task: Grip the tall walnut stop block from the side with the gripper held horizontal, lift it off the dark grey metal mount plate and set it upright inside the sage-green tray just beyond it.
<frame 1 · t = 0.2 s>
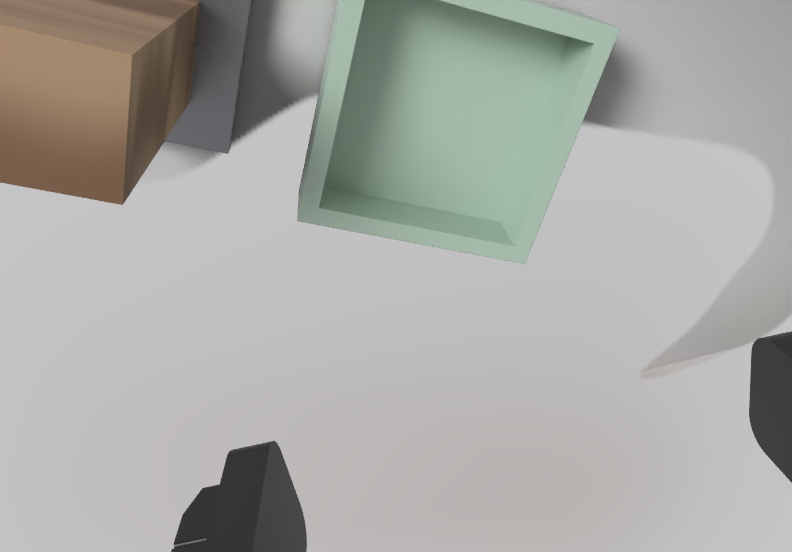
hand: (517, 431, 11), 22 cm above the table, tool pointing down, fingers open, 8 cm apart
stop block: (141, 41, 26), point 1 cm above the table, touching mount plate
mount plate: (147, 37, 27), on the table
tray: (437, 107, 30), on the table
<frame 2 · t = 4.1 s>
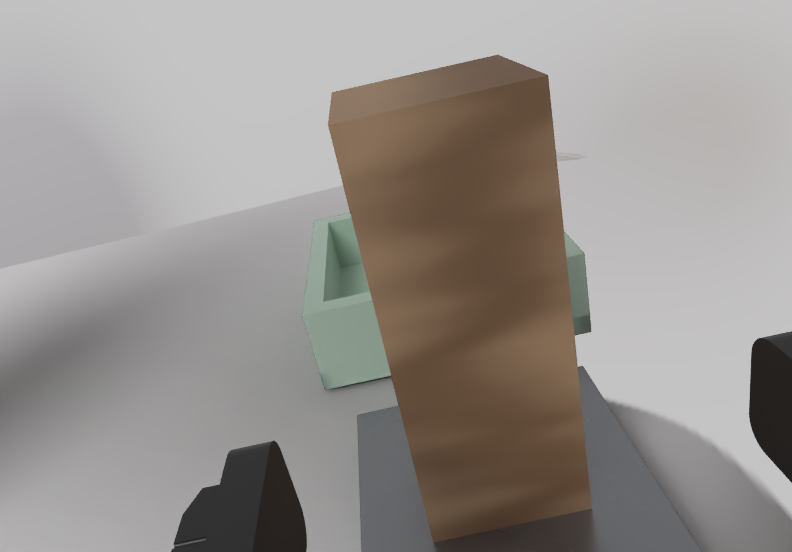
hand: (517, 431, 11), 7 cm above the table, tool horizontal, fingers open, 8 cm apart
stop block: (494, 469, 18), point 1 cm above the table, touching mount plate
mount plate: (499, 495, 19), on the table
tray: (439, 300, 31), on the table
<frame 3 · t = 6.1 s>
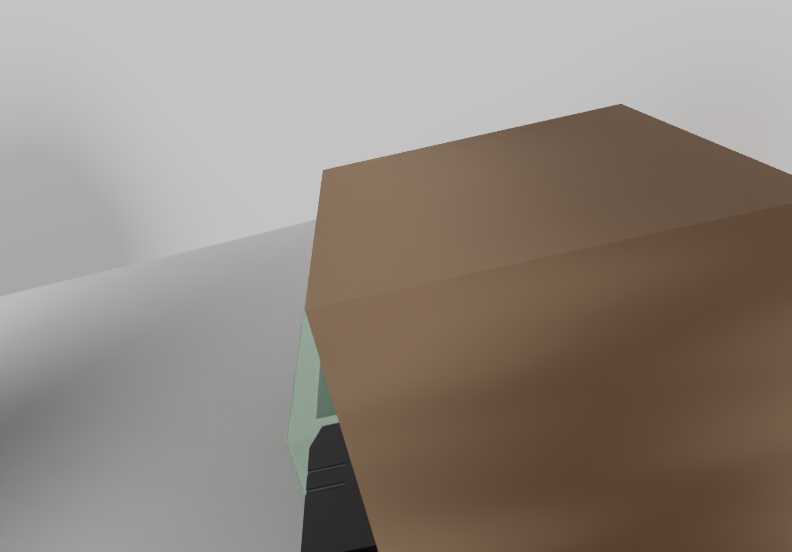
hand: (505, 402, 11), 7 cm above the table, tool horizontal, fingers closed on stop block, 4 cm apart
tray: (467, 389, 24), on the table
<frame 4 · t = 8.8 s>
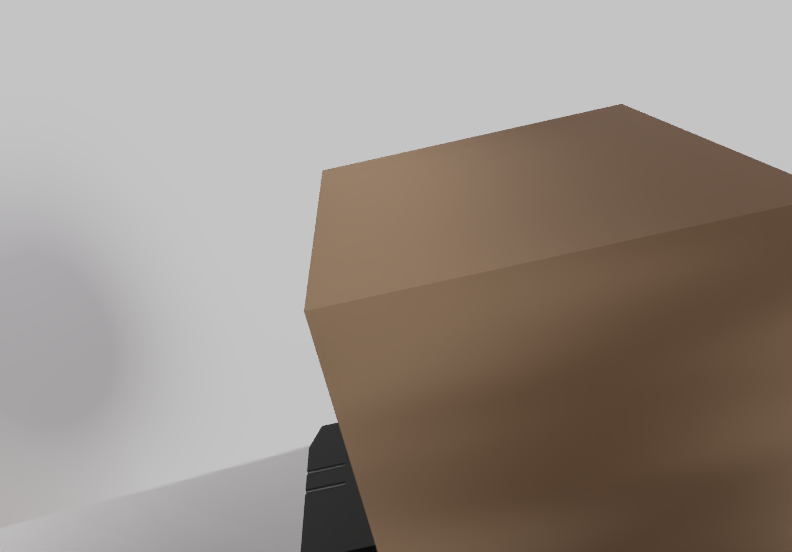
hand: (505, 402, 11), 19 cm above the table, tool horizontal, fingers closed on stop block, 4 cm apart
when the fingers open (8 cm above the table, at t = 11.5 s): stop block drops 2 cm, resting on tray.
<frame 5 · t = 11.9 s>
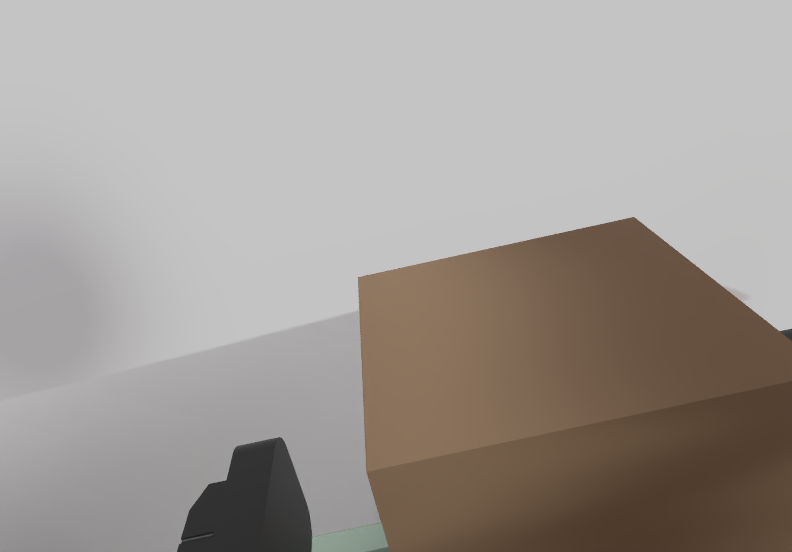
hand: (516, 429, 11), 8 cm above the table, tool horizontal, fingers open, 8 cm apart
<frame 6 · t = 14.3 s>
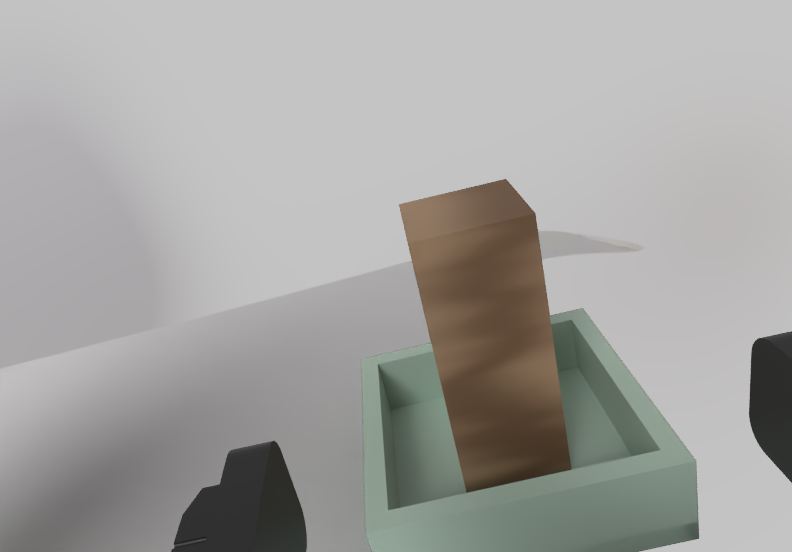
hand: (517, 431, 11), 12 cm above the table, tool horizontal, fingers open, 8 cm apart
stop block: (507, 450, 27), point 1 cm above the table, touching tray
tray: (507, 465, 27), on the table
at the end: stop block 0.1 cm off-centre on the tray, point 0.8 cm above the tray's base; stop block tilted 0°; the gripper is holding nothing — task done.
